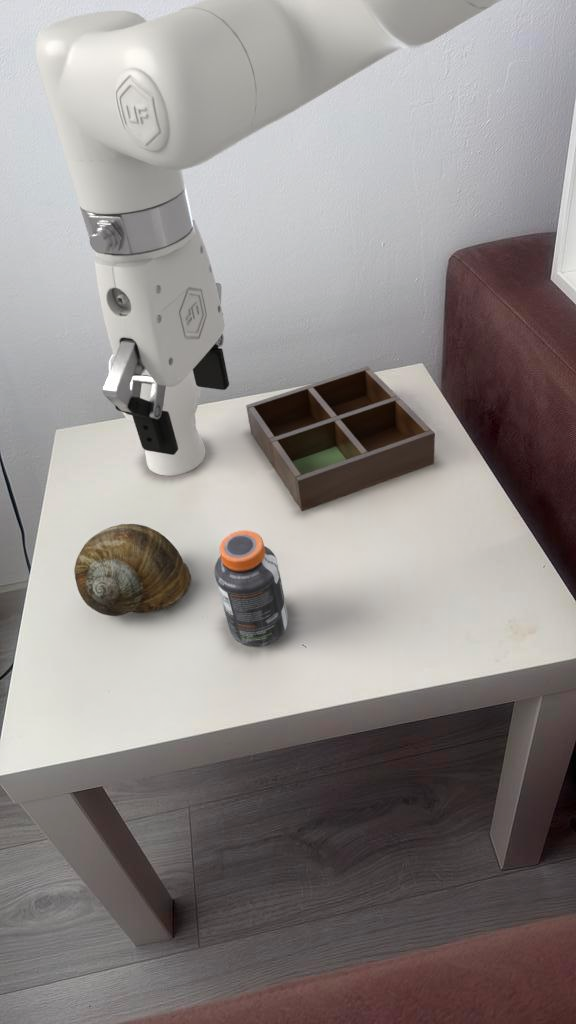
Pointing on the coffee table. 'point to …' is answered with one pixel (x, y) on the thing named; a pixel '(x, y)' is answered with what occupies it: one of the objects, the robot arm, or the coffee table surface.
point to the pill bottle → (251, 589)
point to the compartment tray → (339, 437)
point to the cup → (176, 427)
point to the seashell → (130, 571)
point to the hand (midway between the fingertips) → (188, 417)
